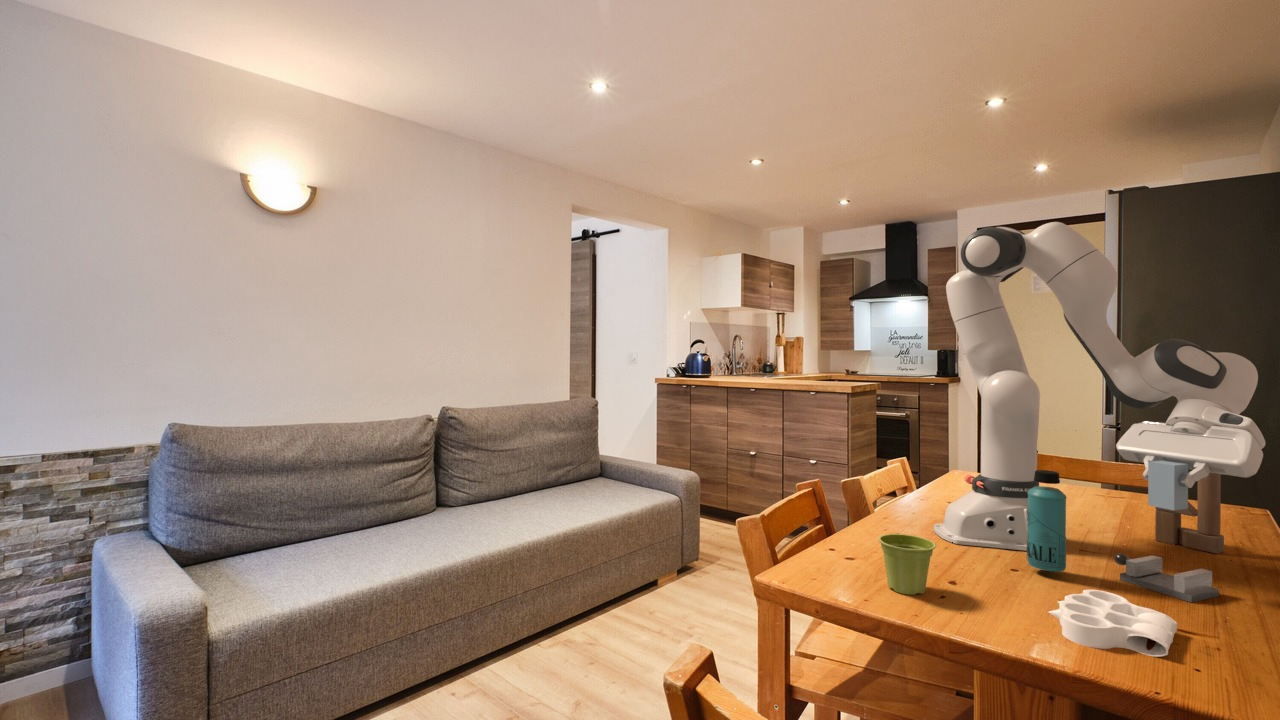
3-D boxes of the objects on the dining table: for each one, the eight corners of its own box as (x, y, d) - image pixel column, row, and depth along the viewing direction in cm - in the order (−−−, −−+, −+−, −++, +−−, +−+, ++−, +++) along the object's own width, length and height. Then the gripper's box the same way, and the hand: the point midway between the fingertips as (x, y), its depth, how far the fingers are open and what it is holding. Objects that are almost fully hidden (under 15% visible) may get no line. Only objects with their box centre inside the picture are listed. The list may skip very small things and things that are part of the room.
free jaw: (1134, 577, 109) (1135, 563, 109) (1101, 566, 114) (1101, 553, 114) (1162, 571, 112) (1162, 557, 112) (1128, 561, 117) (1128, 548, 117)
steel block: (1174, 510, 105) (1174, 465, 105) (1148, 505, 109) (1148, 461, 109) (1187, 508, 106) (1188, 464, 106) (1161, 503, 110) (1162, 460, 110)
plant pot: (881, 576, 113) (881, 530, 113) (936, 584, 109) (936, 537, 109) (875, 593, 105) (875, 544, 105) (934, 603, 101) (935, 552, 101)
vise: (1191, 602, 101) (1191, 579, 101) (1119, 579, 111) (1120, 558, 111) (1219, 596, 104) (1219, 573, 104) (1146, 574, 114) (1147, 553, 114)
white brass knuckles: (1164, 672, 80) (1036, 634, 90) (1179, 630, 92) (1065, 601, 102) (1164, 647, 80) (1036, 612, 90) (1179, 608, 92) (1066, 582, 102)
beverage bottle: (1060, 569, 116) (1060, 468, 116) (1072, 582, 110) (1073, 474, 110) (1022, 566, 119) (1022, 466, 118) (1031, 577, 112) (1032, 472, 112)
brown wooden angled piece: (1161, 538, 137) (1162, 460, 137) (1224, 552, 127) (1224, 468, 127) (1154, 541, 135) (1154, 462, 135) (1217, 554, 125) (1217, 470, 125)
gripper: (1128, 409, 120) (1096, 460, 116) (1264, 419, 100) (1229, 481, 97) (1142, 430, 121) (1111, 481, 118) (1278, 444, 102) (1245, 506, 99)
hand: (1165, 481), depth 107 cm, fingers closed on steel block, 4 cm apart
